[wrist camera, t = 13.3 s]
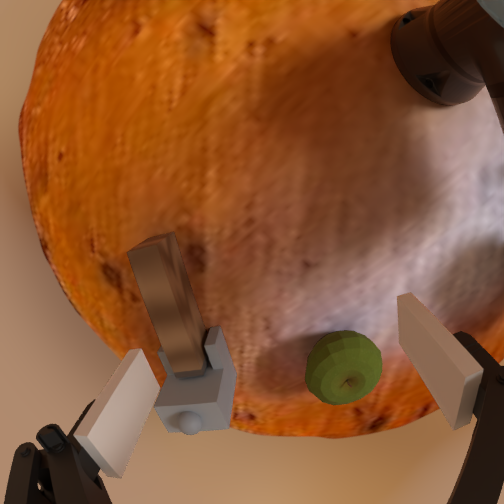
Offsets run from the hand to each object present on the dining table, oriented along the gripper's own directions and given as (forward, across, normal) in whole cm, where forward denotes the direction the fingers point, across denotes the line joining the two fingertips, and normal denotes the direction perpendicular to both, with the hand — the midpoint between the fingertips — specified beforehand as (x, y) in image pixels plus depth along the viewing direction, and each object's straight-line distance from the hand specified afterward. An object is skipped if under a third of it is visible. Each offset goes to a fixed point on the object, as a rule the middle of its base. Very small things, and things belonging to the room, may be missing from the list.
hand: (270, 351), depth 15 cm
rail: (+27, -14, -6) cm, 31 cm away
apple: (+27, +6, -19) cm, 33 cm away
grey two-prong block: (+27, -14, -16) cm, 34 cm away
